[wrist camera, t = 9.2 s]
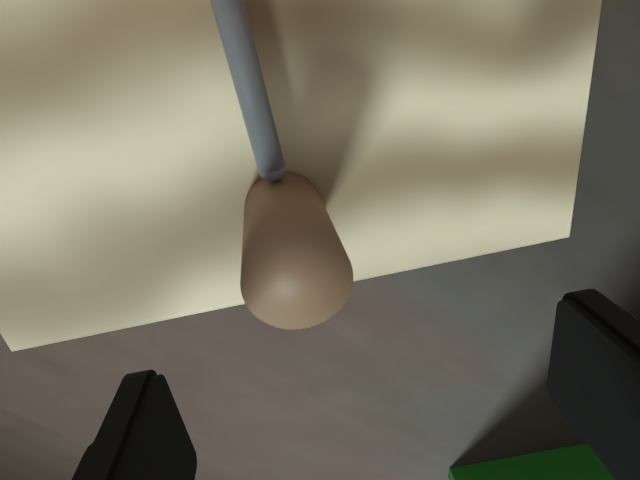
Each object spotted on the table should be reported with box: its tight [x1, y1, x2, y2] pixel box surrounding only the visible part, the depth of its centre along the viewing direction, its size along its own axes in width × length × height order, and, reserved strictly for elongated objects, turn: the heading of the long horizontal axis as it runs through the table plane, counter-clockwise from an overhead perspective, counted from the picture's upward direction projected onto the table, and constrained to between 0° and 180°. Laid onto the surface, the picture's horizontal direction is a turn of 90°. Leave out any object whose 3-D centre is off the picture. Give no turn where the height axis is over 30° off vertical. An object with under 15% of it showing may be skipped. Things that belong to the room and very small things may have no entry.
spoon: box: [210, 0, 353, 329], centre depth 11 cm, size 18×6×6 cm, turn 12°
